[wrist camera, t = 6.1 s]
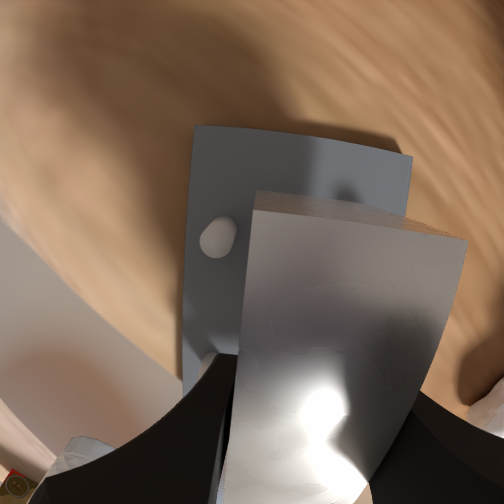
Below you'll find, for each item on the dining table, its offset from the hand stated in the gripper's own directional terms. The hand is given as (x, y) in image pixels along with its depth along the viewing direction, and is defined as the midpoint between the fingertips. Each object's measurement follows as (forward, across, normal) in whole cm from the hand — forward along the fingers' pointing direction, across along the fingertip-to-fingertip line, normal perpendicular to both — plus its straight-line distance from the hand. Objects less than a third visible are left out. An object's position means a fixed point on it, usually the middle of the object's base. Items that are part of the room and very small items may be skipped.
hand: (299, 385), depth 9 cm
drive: (+3, 0, -1) cm, 3 cm away
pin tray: (+7, 0, 0) cm, 7 cm away
